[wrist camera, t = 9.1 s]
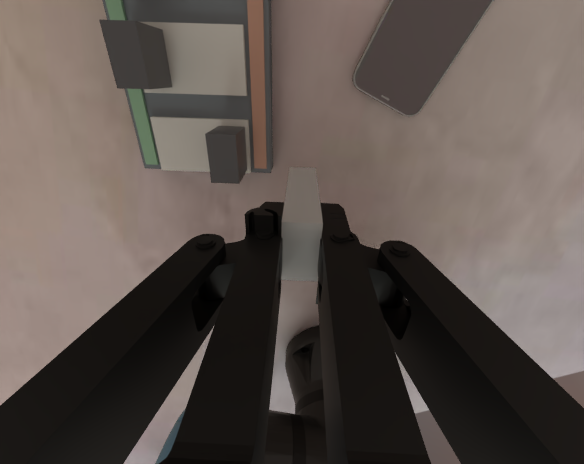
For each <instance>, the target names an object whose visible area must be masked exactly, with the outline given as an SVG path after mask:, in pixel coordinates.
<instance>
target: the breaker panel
mask: <svg viewBox="0 0 584 464" xmlns="http://www.w3.org/2000/svg"><path fill="white" fill-rule="evenodd" d="M103 4H104V8H105V12H106V16H107V20H130V21H138V22H141V23H144V24H147V25H150V26H153V27H156V28H159V29H162V30H163V35H164V41H165V47H166V52H167V58H168V64H169V70H170V76H171V81H172V87H170V88H159V89H125V92H126V96H127V100H128V104H129V108H130V112H131V115H132V119H133V123H134V127H135V131H136V135H137V139H138V143H139V147H140V151H141V155H142V159H143V163H144V167H145V168H154V169H162V170H166V171H193V172H210V168H209V160H208V153H207V145H206V137H205V134H206V133H207V132H209V131H211V130H212V129H214V128H216V127H217V126H241V127H245V137H246V155H247V171H246V173H247V174H250V173H251V172H263V173H271V170H272V167H273V156H272V51H271V0H103Z"/></svg>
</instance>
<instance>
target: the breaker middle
mask: <svg viewBox="0 0 584 464" xmlns="http://www.w3.org/2000/svg"><path fill="white" fill-rule="evenodd" d="M100 24H101V28H102V32H103V36H104V39H105V43H106V47H107V51H108V55H109V58H110V62H111V66H112V70H113V73H114V77H115V81H116V85H117V88H124V89H159V88H170V87H172V81H171V76H170V70H169V64H168V58H167V52H166V47H165V41H164V35H163V30H162V29H159V28H156V27H153V26H150V25H147V24H144V23H141V22H138V21H130V20H100Z"/></svg>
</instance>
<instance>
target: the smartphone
mask: <svg viewBox="0 0 584 464" xmlns="http://www.w3.org/2000/svg"><path fill="white" fill-rule="evenodd" d="M493 1H494V0H390V2H389V4H388V6H387V8H386V10H385V12H384V13H383V15H382V17H381V19H380V21H379V23H378V25H377V27H376V29H375V31H374V33H373V35H372V37H371V39H370V41H369V43H368V45H367V47H366V49H365V51H364V53H363V55H362V57H361V59H360V61H359V63H358V65H357V67H356V69H355V71H354V73H353V84H354V86H355V87H356V88H357V89H358V90H360V91H362V92H363V93H365V94H367V95H369V96H370V97H372V98H374V99H376V100H377V101H379V102H381V103H383V104H384V105H386V106H388V107H390V108H391V109H393V110H395V111H397V112H398V113H400V114H402V115H404V116H407V117H412V116H415V115H417V114H418V113H419V112H420V111H421V110H422V108H423V107H424V105H425V104H426V102H427V101H428V99H429V98H430V96H431V95H432V93H433V92H434V90H435V89H436V87H437V86H438V84H439V83H440V81H441V80H442V78H443V77H444V75H445V74H446V72H447V71H448V69H449V68H450V66H451V65H452V63H453V62H454V60H455V59H456V57H457V55H458V54H459V52H460V51H461V49H462V48H463V46H464V45H465V43H466V42H467V40H468V39H469V37H470V36H471V34H472V33H473V31H474V30H475V28H476V27H477V25H478V24H479V22H480V21H481V19H482V18H483V16H484V15H485V13H486V12H487V10H488V9H489V7H490V6H491V4H492V3H493Z"/></svg>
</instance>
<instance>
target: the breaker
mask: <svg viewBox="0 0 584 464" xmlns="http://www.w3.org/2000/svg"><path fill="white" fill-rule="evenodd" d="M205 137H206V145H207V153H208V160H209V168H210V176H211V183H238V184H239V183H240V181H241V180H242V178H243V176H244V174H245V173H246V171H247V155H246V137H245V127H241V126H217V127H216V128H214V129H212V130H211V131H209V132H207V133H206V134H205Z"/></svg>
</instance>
